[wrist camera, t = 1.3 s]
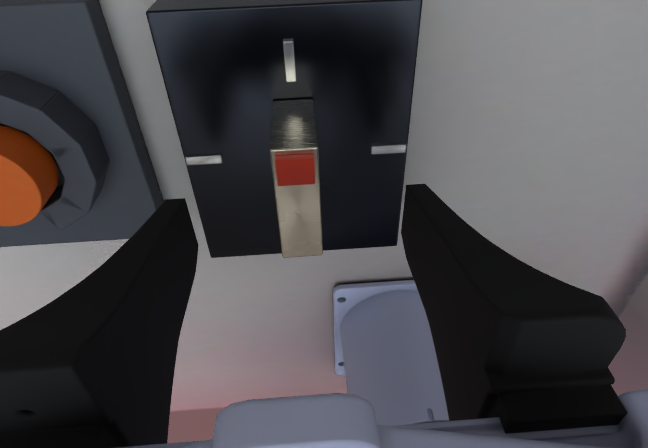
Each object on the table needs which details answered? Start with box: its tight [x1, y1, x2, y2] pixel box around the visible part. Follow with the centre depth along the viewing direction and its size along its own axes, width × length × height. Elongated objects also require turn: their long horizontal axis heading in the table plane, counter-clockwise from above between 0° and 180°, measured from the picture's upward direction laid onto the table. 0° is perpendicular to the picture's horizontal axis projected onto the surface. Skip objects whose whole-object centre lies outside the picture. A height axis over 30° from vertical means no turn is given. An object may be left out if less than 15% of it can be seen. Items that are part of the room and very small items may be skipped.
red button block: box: [270, 99, 323, 258], centre depth 16 cm, size 5×2×4 cm, turn 2°
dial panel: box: [146, 0, 422, 258], centre depth 19 cm, size 11×9×3 cm
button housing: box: [0, 0, 163, 247], centre depth 19 cm, size 11×9×3 cm
